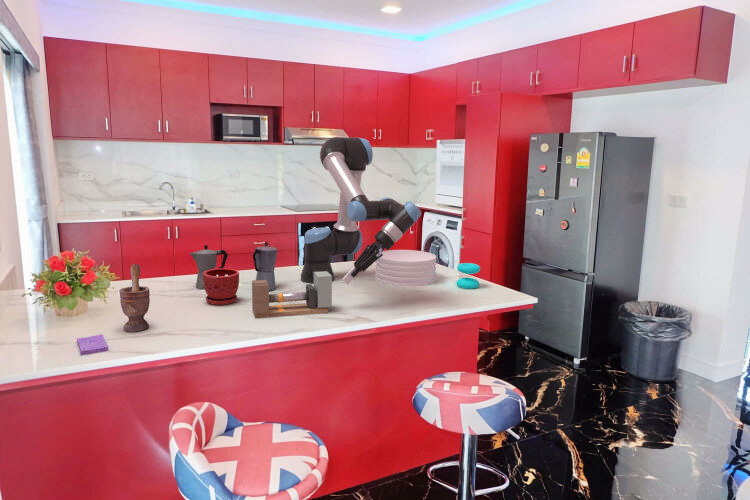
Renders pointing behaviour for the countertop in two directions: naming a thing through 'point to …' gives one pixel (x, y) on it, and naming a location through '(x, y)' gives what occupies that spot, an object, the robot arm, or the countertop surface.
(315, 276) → the sleeve
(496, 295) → the countertop surface
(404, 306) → the countertop surface
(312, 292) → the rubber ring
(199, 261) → the coffeepot
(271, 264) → the moka pot
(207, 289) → the plant pot
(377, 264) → the plate stack
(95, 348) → the sponges
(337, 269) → the countertop surface
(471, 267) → the donuts
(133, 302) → the mortar and pestle
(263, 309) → the pipe rig
